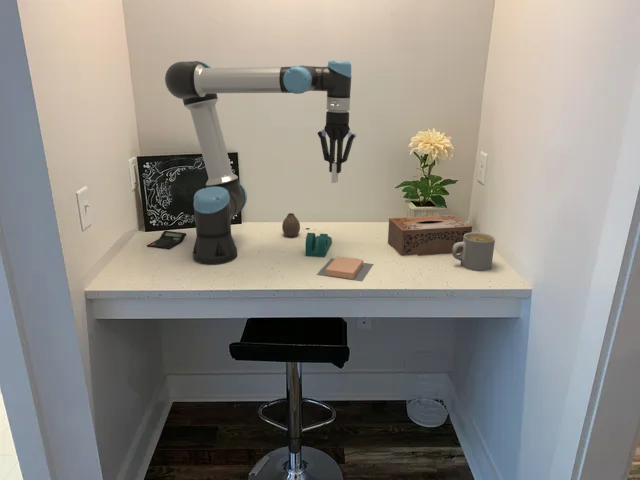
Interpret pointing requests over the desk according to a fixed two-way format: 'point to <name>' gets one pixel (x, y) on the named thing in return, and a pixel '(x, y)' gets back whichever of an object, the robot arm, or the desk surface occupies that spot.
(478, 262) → the coffee mug
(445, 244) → the tissue box cover
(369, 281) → the desk surface
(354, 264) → the tile
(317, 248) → the bracket
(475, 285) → the desk surface
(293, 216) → the vase
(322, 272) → the mat
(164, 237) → the calculator
